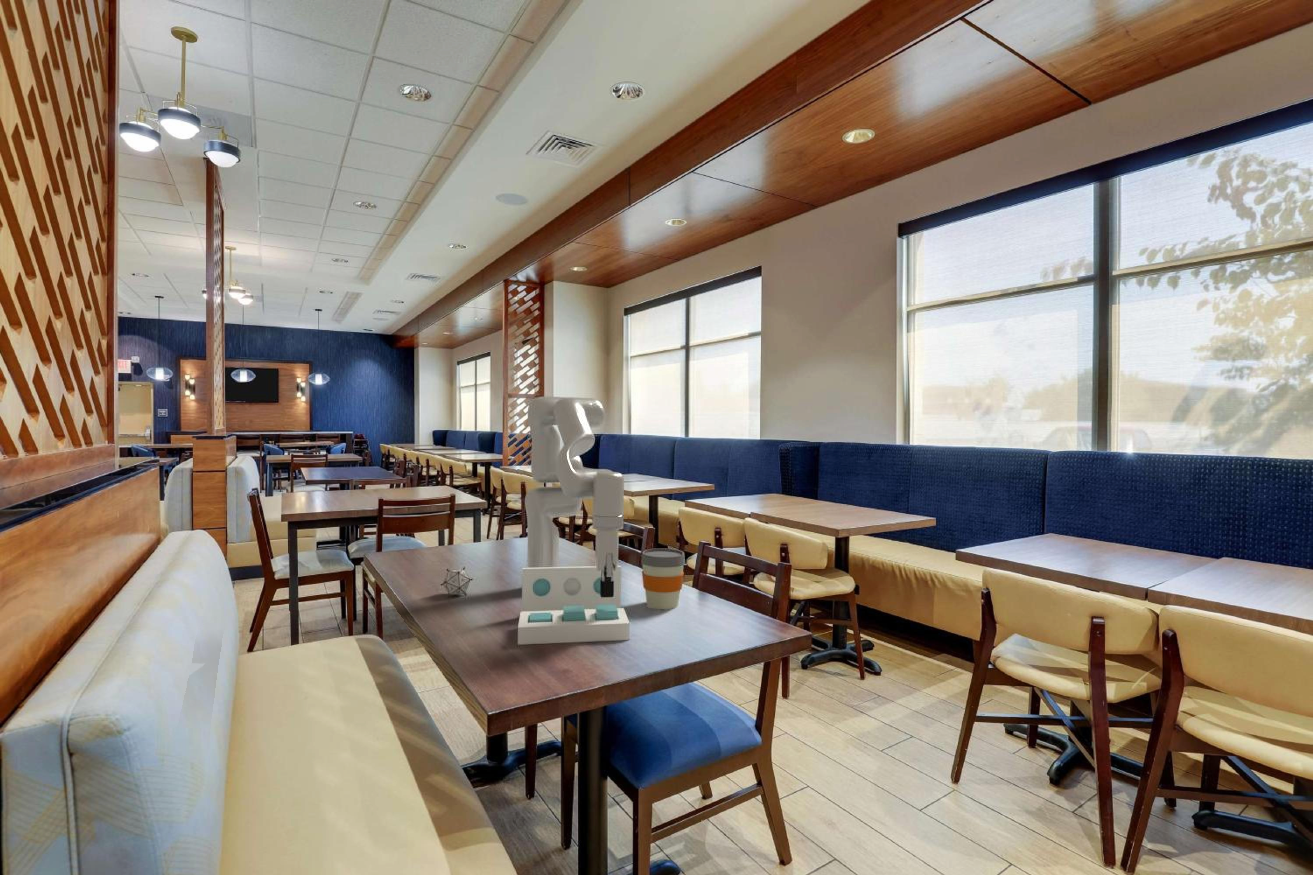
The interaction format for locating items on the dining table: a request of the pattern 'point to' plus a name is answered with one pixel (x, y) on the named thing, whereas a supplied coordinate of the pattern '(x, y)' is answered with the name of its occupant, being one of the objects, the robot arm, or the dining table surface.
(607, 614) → the button
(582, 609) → the button
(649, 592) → the reusable coffee cup
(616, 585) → the pattern sign
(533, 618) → the button
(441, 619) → the dining table surface
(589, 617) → the button board
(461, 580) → the grey geometric polyhedron ornament
